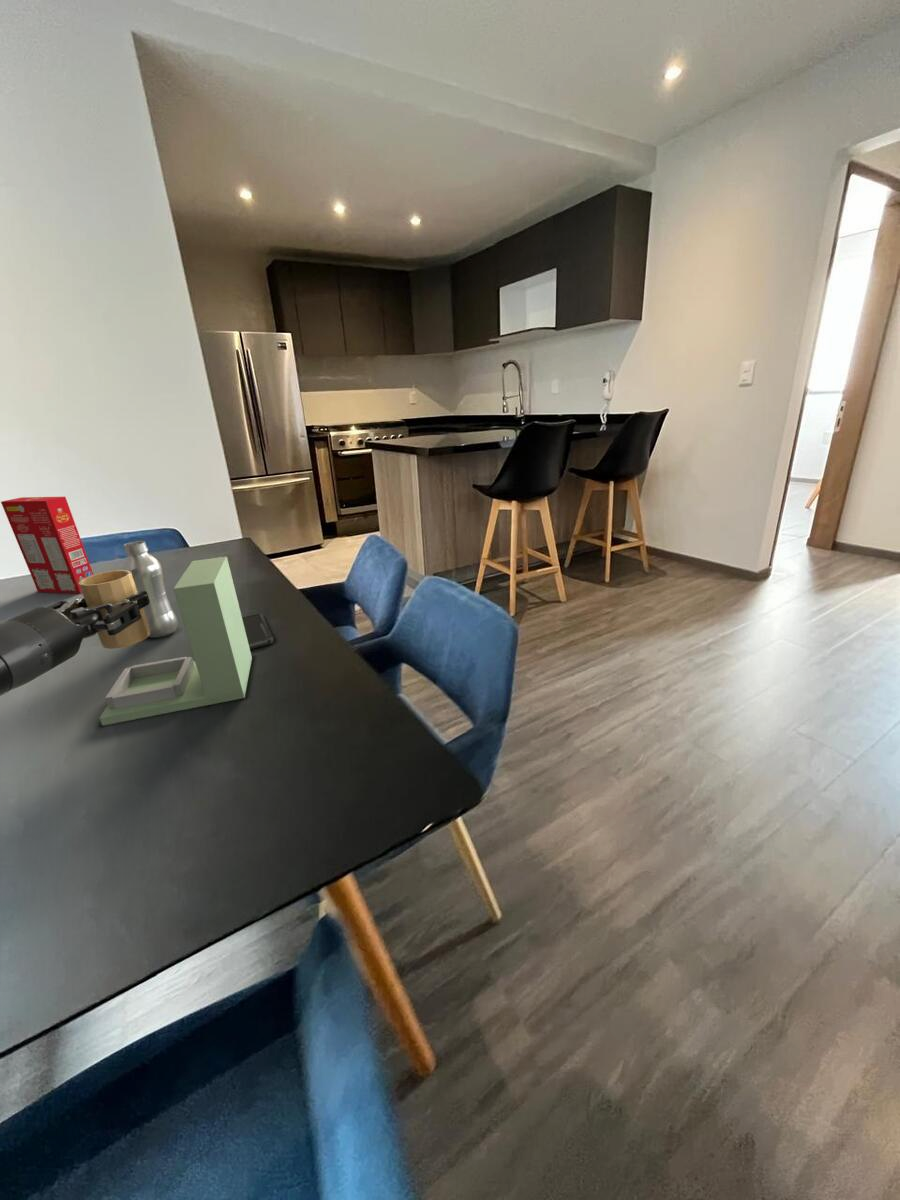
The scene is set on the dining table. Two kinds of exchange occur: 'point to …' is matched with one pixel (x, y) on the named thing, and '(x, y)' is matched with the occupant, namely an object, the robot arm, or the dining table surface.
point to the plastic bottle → (151, 588)
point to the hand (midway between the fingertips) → (125, 596)
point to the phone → (257, 631)
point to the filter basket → (113, 590)
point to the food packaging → (49, 542)
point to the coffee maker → (213, 646)
